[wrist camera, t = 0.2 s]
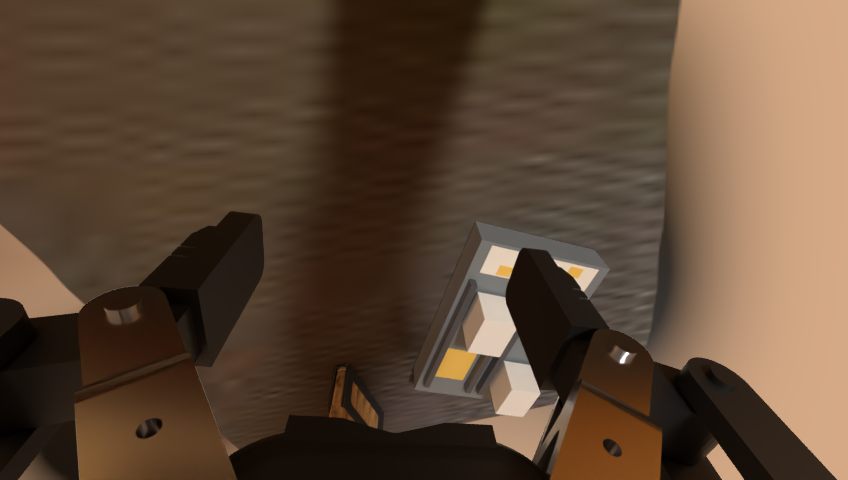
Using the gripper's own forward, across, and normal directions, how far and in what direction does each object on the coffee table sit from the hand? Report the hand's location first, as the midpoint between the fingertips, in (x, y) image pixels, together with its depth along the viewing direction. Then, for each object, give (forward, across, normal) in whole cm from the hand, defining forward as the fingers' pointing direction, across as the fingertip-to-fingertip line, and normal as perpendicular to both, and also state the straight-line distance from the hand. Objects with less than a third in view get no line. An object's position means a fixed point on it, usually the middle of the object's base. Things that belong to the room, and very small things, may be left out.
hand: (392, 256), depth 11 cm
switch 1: (+15, -10, +14) cm, 23 cm away
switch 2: (+15, -15, +23) cm, 32 cm away
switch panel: (+18, -13, +18) cm, 28 cm away
